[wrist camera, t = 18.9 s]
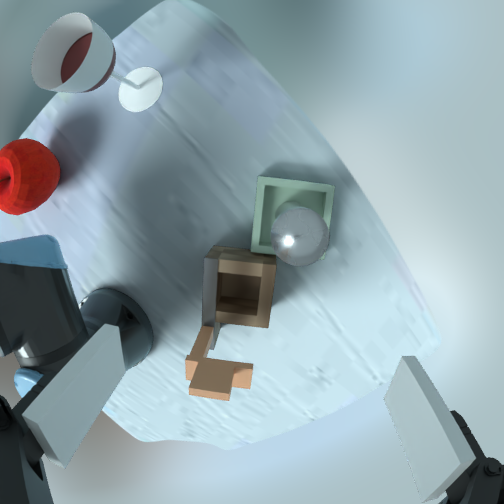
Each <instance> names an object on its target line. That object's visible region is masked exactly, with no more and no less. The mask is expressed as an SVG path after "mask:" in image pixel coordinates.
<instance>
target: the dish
mask: <svg viewBox="0 0 504 504" xmlns="http://www.w3.org/2000/svg"><path fill="white" fill-rule="evenodd" d="M334 191H335V186H334V185H330V184H323V183H316V182H308V181H300V180H292V179H284V178H275V177H265V176H258V180H257V190H256V200H255V210H254V221H253V231H252V241H251V252H256V253H265V254H274V255H276V253H275V252H274V250H273V248H272V244H271V229H272V225H273V223H274V221H275V212H276V210H277V208H278V207H279V205H281V204H282V203H284V202H286V201H296V202H298V203H300V204H301V205H302V206H303V207H306V208H309V209H312V210H314V211H315V212H317V213H318V214H319V215H320V216H321V217H322V218H323V219H324V220H325V222H326V224H327V226H328V229H329V228H330V221H331V214H332V206H333V199H334ZM325 253H326V251H325ZM325 253H324V254H323V256H322V257H321V258H320V260H324V259H325Z"/></svg>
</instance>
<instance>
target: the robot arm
mask: <svg viewBox="0 0 504 504" xmlns="http://www.w3.org/2000/svg"><path fill="white" fill-rule="evenodd" d="M67 268H68V266H67V265H66V264H65V261H64V258H63V255H62V252H61V249H60V245H59V243H58V241H57V240H56V239H55V238H54V237H53V236H51V235H39V236H33V237H28V238H22V239H17V240H11V241H6V242H1V243H0V356H1V357H4V356H6V355H8V354H10V353H12V352H14V354H15V356H16V358H17V360H18V362H19V364H20V367H21V368H20V369H18V370H16V374H15V376H14V381H15V382H14V383H15V386H16V389H17V391H18V392H19V394H20V395H21V397H22V399H21V400H20V401H19V403H17V405H16V406H15V407H14V408H13V409H11V407H10V405H9V403H8V402H7V400H6V399H5V398H4V397H3V396H1V395H0V504H54V503H53V500H52V496H51V493H50V489H49V486H48V481H47V477H46V473H45V469H44V464H43V461H42V459H41V457H42V455H43V454H44V453H45V455H46V456H47V458H48V459H49V461H51V462H53V463H55V464H56V465H58V466H60V467H62V468H66V467H67V465H68V463H69V462H70V460H71V458H72V457H73V455H74V453H75V452H76V450H77V448H78V447H79V445H80V443H81V442H82V440H83V439H84V437H85V435H86V434H87V432H88V431H89V429H90V427H91V426H92V424H93V422H94V421H95V419H96V418H97V416H98V414H99V413H100V411H101V410H102V408H103V407H104V405H105V404H106V402H107V400H108V399H109V397H110V396H111V394H112V393H113V391H114V390H115V388H116V387H117V385H118V383H119V382H120V380H121V379H122V377H123V376H124V374H125V373H126V371H127V370H128V369H130V368H131V367H134V366H136V365H138V364H139V363H141V362H142V361H143V360H144V359H145V357H146V356H147V354H148V353H149V351H150V349H151V347H152V343H153V332H152V328H151V324H150V322H149V320H148V318H147V316H146V314H145V313H144V311H143V310H142V309H141V308H140V306H139V305H138V304H137V303H136V302H135V301H133V300H132V299H131V298H130V297H128V296H127V295H125V294H123V293H121V292H119V291H116V290H113V289H98V290H95V291H93V292H92V293H90V294H89V295H88V296H86V297H85V298H84V299H83V300H82V301H81V303H80V304H79V306H78V303H77V300H76V297H75V294H74V291H73V288H72V285H71V281H70V278H69V274H68V271H67ZM384 401H385V404H386V406H387V409H388V411H389V414H390V416H391V419H392V421H393V423H394V426H395V429H396V431H397V434H398V436H399V439H400V442H401V444H402V447H403V450H404V452H405V455H406V458H407V460H408V463H409V466H410V469H411V472H412V475H413V478H414V481H415V483H416V486H417V489H418V492H419V495H420V498H421V502H422V503H423V502H427V501H430V500H433V499H436V498H438V497H439V496H440V495H441V494H442V493H443V492H445V491H446V493H447V497H445V498H444V499H443V500H442V501H441V502H440V503H439V504H504V465H502V464H501V463H500V462H499V461H498V460H496V459H494V458H490V457H488V458H486V457H485V455H484V453H483V451H482V450H481V448H480V446H479V444H478V443H477V441H476V439H475V437H474V436H473V434H471V430H470V429H469V427H467V424H466V422H465V420H464V419H463V417H462V416H461V415H459V414H458V413H457V412H456V411H455V410H454V411H449V409H448V407H447V406H446V404H445V403H444V401H443V399H442V397H441V396H440V394H439V392H438V391H437V389H436V388H435V386H434V385H433V383H432V381H431V380H430V378H429V377H428V375H427V374H426V372H425V371H424V369H423V367H422V366H421V364H420V363H419V361H418V360H417V358H416V357H415V356H402V357H401V360H400V362H399V365H398V367H397V369H396V372H395V374H394V377H393V379H392V381H391V384H390V386H389V388H388V390H387V392H386V394H385V397H384Z"/></svg>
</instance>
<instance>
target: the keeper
mask: <svg viewBox="0 0 504 504" xmlns="http://www.w3.org/2000/svg"><path fill="white" fill-rule="evenodd" d="M213 329H214V327H208V326H202V327H201V329H200V332H199V334H198V336H197V339H196V341H195V343H194V346H193V348H192V350H191V353H190V355H187V357H186V359H185V365H186V380H191V383H190V386H189V395H194V396H200V397H206V398H212V399H219V400H226V401H229V399H230V393H231V388H232V387H238V388H246V389H250V386H251V378H252V371H253V364H250V363H241V362H233V361H226V360H218V359H211V358H206V357H207V354H208V351H209V348H210V345H211V342H212V339H213Z"/></svg>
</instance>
